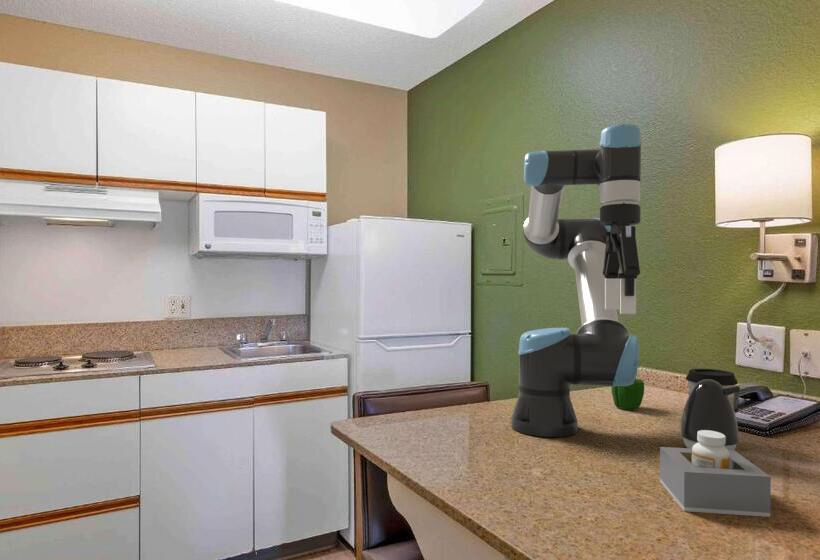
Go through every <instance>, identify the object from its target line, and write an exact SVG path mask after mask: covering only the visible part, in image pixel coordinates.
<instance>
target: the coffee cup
mask: <svg viewBox="0 0 820 560" xmlns="http://www.w3.org/2000/svg"><path fill="white" fill-rule="evenodd" d="M705 379H711V380H715V381H717V382H718V383H720V384H721V385H722V386H723V388H729V387H735V386H737V385H738V384H739V383H738V379H737V378H736V376H735V373H734V372H731V371H727V370H722V369H713V368H692V369H691V368H690V369H689V371H688V374H687V375H686V376H685V380H686V381H687V383H688V396H689V395H690V393H691V391H692V389H693V388H694V386H695V385H696V384H697V383H698V382H699V381H701V380H705ZM728 396H729V399H730V401H731V403H732V406H733V407H734V403H735V393H733V394H730V395H728Z"/></svg>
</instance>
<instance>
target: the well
mask: <svg viewBox="0 0 820 560" xmlns="http://www.w3.org/2000/svg"><path fill="white" fill-rule="evenodd" d="M728 451H729V453H730V462H729V469H718V468H700V467H695V466H694V465H692V448H687V447H669V446H668V447H667V446H659V481H660V483H661V484H662V486H663V487H664V488H665V489H666V491H667V493H669V494H670V496H671V497H672V498H673V499H674V501H675V502H676V504H678V506H679V507H680V508H681V509H682V510H683V512H689V513H691V512H692V513H693V512H694V513H707V514H720V515H734V516H735V515H736V516H752V517H764V518H770V517H771V494H772V493H771V491H772V490H771V485H772V484H771V481H772V477H771V475H769V474H767V473H766V472H765V471H763V470H762V469H760V468H759V467H758V466H757V465H755V464H754V463H752V462H751V461H750V460H748V459H747V458H745V457H744V456H743V455H741V454H740V453H738V452H737V451H736V450H734V451H733V450H728Z"/></svg>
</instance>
